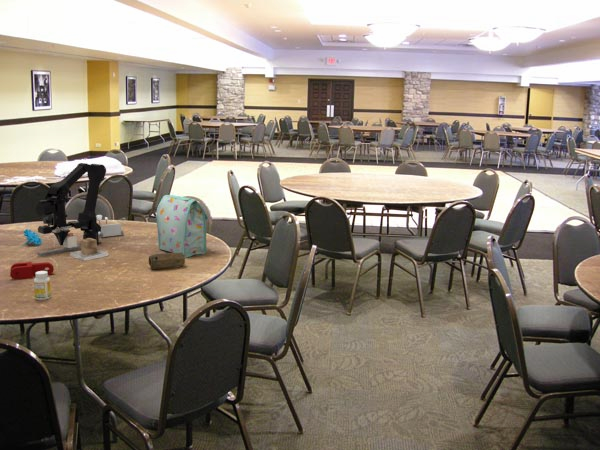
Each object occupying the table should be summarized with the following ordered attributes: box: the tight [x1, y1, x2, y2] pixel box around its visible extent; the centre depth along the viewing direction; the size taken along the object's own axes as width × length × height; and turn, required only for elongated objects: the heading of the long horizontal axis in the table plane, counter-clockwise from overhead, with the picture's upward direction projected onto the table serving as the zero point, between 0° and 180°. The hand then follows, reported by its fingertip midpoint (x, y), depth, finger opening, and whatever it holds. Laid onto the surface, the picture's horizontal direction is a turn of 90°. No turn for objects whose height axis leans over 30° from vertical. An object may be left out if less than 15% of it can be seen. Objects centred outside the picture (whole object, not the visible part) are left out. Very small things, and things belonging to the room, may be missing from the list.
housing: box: [80, 238, 98, 255], centre depth 274 cm, size 5×5×7 cm
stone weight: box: [148, 252, 186, 270], centre depth 259 cm, size 15×7×7 cm, turn 123°
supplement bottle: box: [33, 271, 52, 301], centre depth 217 cm, size 5×5×10 cm
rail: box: [36, 244, 81, 257], centre depth 281 cm, size 20×3×1 cm, turn 139°
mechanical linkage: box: [9, 261, 55, 281], centre depth 243 cm, size 16×7×5 cm, turn 114°
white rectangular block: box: [62, 232, 78, 248], centre depth 284 cm, size 4×4×6 cm
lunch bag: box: [155, 194, 209, 259], centre depth 284 cm, size 23×16×27 cm
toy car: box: [96, 214, 125, 239], centre depth 317 cm, size 18×10×12 cm
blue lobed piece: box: [23, 228, 43, 246], centre depth 292 cm, size 11×6×10 cm
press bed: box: [69, 248, 109, 262], centre depth 275 cm, size 12×12×2 cm
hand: (61, 245), depth 281 cm, fingers closed
